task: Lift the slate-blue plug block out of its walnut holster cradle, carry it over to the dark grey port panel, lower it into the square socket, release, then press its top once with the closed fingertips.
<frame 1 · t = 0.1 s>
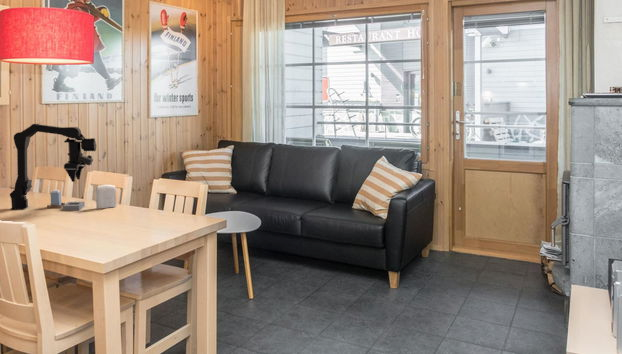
hand: (75, 180, 269), 15 cm above the table, fingers open, 9 cm apart
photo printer: (106, 207, 273), on the table
port: (73, 208, 269), on the table
holster: (56, 206, 272), on the table
plug: (55, 198, 271), in the holster
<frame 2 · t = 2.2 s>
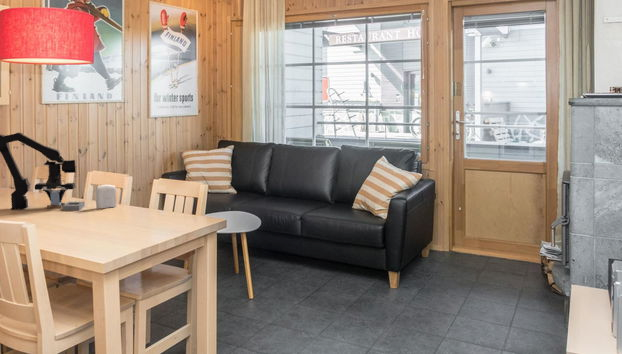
hand: (56, 202, 272), 3 cm above the table, fingers closed on plug, 4 cm apart
plug: (55, 198, 271), in the holster, touching gripper
everything else where it was.
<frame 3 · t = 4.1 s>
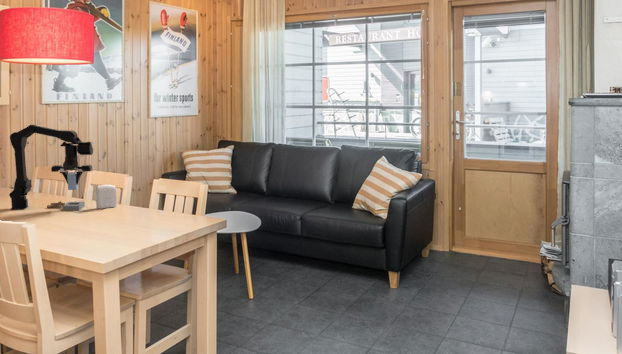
hand: (72, 184, 268), 13 cm above the table, fingers closed on plug, 4 cm apart
plug: (72, 180, 267), point 15 cm above the table, touching gripper
everything else where it was.
when the fingers open (3 cm above the table, at t = 5.8 s): plug stays where it is, resting in port.
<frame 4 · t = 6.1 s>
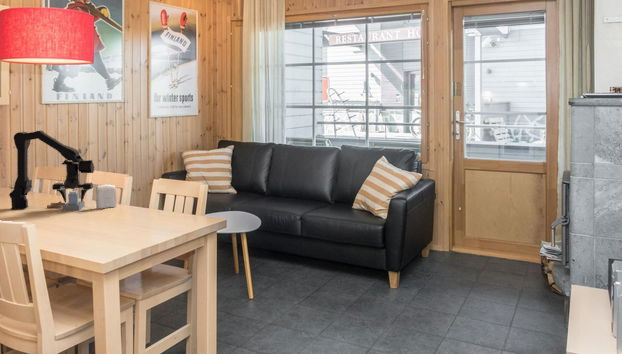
hand: (73, 202, 269), 3 cm above the table, fingers open, 8 cm apart
plug: (73, 199, 268), in the port
everything else where it was.
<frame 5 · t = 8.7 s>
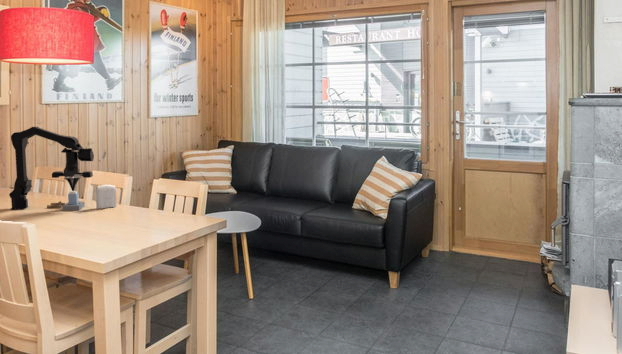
hand: (73, 190, 268), 9 cm above the table, fingers closed
nothing on the table moved.
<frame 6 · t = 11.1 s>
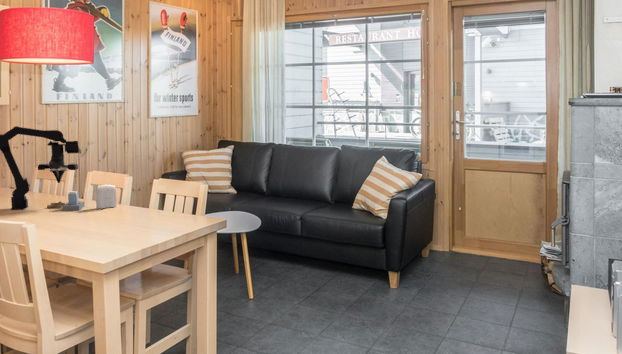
hand: (58, 182, 273), 13 cm above the table, fingers closed
nothing on the table moved.
at the end: plug 0.1 cm off-centre on the port, point 4.5 cm above the port's base; plug tilted 0°; the gripper is holding nothing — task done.
